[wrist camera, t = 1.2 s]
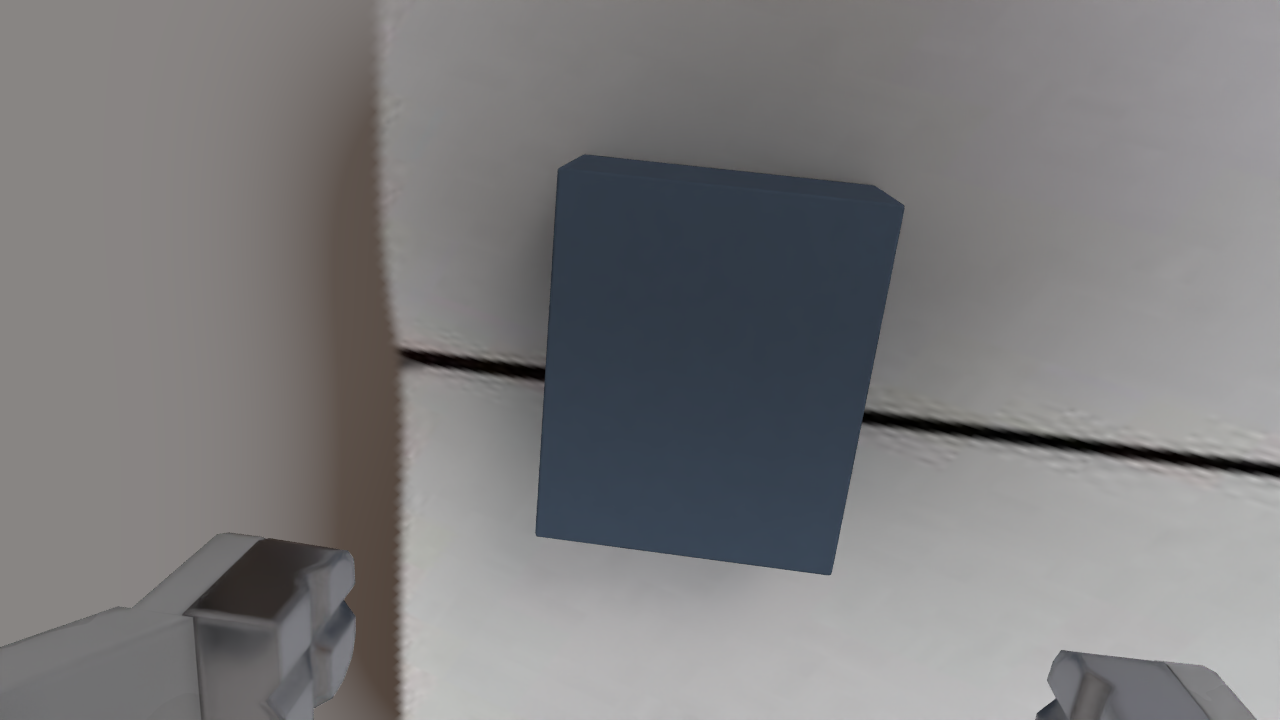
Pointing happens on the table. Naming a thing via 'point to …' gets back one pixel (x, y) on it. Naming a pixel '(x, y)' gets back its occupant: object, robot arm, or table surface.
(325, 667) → the robot arm
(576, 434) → the slate pad
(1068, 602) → the table surface
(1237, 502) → the table surface
